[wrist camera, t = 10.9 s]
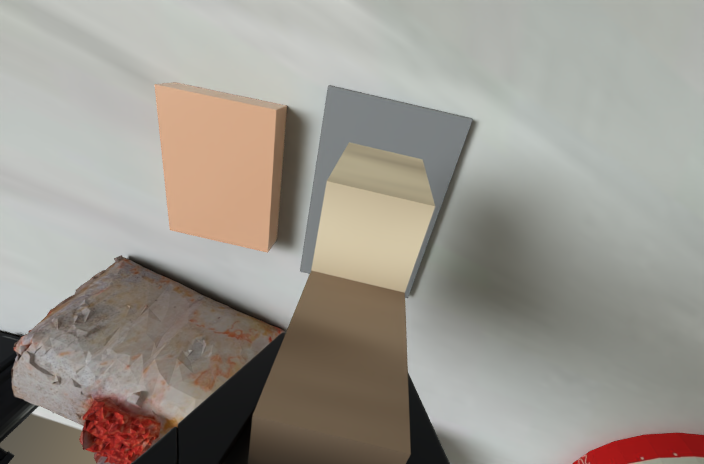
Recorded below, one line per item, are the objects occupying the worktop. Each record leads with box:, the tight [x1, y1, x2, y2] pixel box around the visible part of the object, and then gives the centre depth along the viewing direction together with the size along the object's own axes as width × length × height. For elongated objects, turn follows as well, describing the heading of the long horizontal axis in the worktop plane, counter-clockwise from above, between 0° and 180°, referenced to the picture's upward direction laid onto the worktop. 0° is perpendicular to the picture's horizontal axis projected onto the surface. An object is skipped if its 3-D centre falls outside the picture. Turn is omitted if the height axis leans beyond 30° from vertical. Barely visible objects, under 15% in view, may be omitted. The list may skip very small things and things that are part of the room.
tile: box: [155, 82, 287, 252], centre depth 18 cm, size 8×2×6 cm
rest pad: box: [300, 85, 473, 298], centre depth 18 cm, size 11×7×1 cm, turn 169°
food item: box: [11, 255, 285, 464], centre depth 21 cm, size 14×8×10 cm, turn 64°
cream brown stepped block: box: [248, 142, 435, 464], centre depth 10 cm, size 9×2×8 cm, turn 169°
